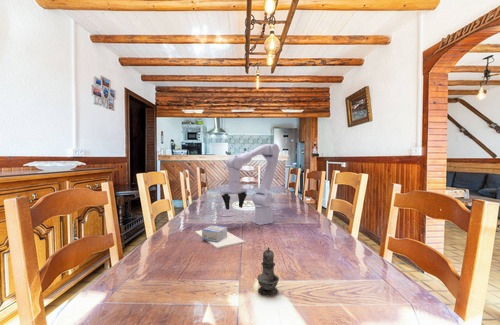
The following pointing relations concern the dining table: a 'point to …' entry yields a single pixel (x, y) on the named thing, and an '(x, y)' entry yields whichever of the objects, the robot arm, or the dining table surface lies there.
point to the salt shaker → (268, 275)
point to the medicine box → (214, 233)
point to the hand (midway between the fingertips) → (234, 208)
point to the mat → (224, 240)
